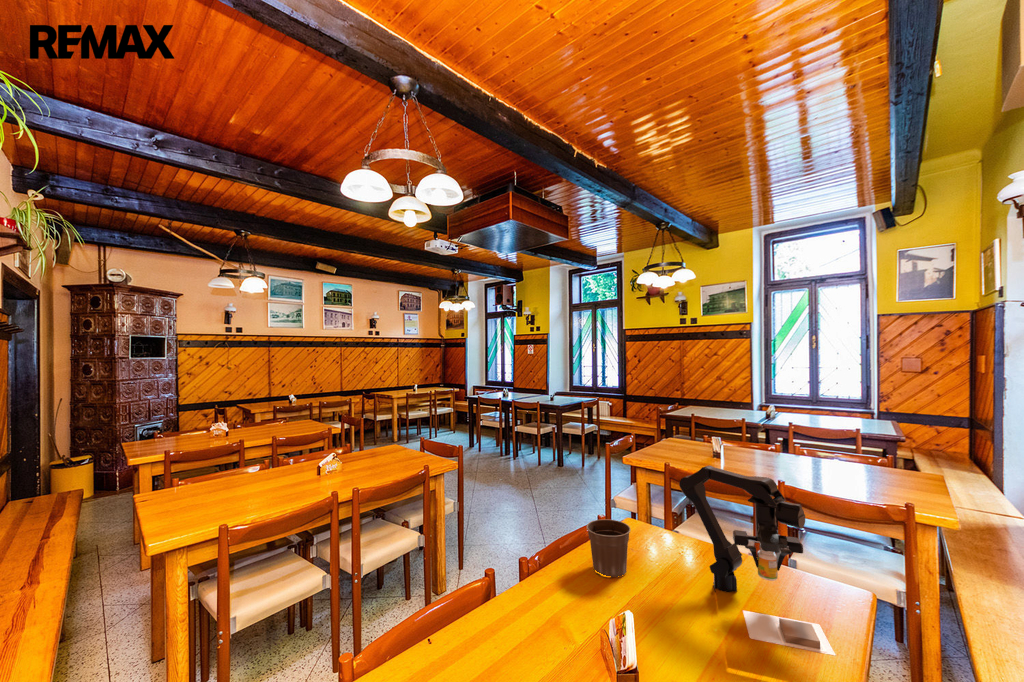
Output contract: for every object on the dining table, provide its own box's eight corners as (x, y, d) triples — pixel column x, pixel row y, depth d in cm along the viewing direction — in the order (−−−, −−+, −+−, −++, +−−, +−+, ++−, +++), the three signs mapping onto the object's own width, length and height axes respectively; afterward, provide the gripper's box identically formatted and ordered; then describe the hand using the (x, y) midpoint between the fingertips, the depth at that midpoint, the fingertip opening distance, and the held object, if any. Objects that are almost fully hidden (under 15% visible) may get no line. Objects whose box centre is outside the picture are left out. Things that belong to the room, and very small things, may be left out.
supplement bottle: (754, 572, 137) (753, 542, 137) (769, 572, 137) (768, 541, 138) (765, 581, 132) (764, 549, 132) (781, 580, 132) (780, 549, 132)
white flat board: (749, 641, 119) (749, 637, 119) (742, 612, 132) (742, 610, 132) (836, 658, 112) (835, 655, 112) (819, 627, 125) (819, 623, 125)
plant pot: (580, 574, 157) (579, 530, 157) (596, 556, 170) (595, 516, 171) (624, 586, 148) (622, 539, 149) (636, 566, 162) (635, 523, 162)
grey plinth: (785, 642, 117) (785, 634, 117) (779, 625, 124) (779, 618, 125) (820, 649, 114) (820, 641, 114) (811, 631, 122) (811, 624, 122)
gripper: (736, 524, 131) (737, 575, 130) (807, 532, 124) (809, 586, 124) (731, 511, 141) (733, 559, 141) (797, 519, 135) (799, 569, 134)
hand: (767, 568), depth 135 cm, fingers closed on supplement bottle, 5 cm apart
